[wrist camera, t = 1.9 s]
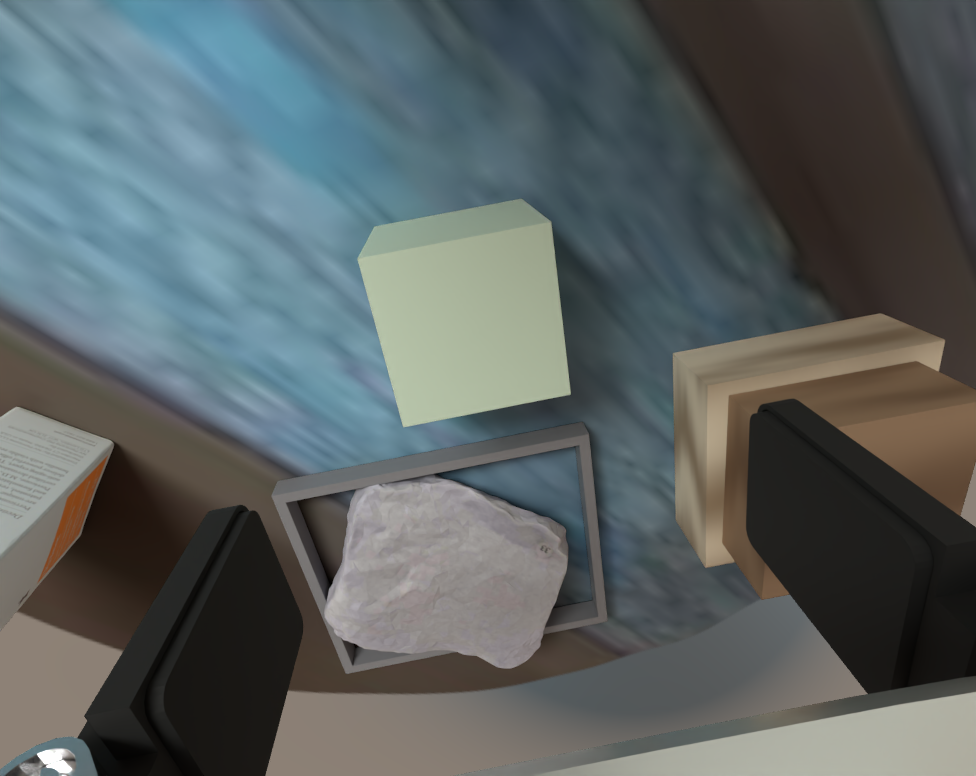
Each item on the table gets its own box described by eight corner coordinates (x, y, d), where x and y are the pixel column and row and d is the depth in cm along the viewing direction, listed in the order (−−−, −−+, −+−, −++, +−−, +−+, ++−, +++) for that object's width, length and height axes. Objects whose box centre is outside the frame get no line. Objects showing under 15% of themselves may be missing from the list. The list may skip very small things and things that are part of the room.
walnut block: (728, 395, 23) (776, 438, 20) (916, 361, 23) (993, 398, 20) (722, 542, 26) (761, 599, 23) (885, 512, 27) (946, 564, 23)
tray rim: (277, 481, 27) (271, 496, 26) (582, 421, 27) (588, 434, 26) (348, 655, 32) (346, 673, 31) (601, 604, 32) (607, 621, 31)
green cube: (374, 226, 22) (357, 258, 17) (521, 198, 22) (551, 221, 17) (408, 361, 25) (403, 427, 19) (539, 336, 25) (570, 394, 20)
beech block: (669, 349, 26) (707, 385, 23) (874, 310, 26) (945, 340, 23) (673, 515, 31) (705, 567, 27) (849, 481, 31) (904, 528, 27)
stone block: (359, 437, 29) (329, 600, 32) (345, 471, 25) (310, 660, 27) (572, 475, 31) (529, 628, 33) (596, 515, 26) (545, 690, 29)
